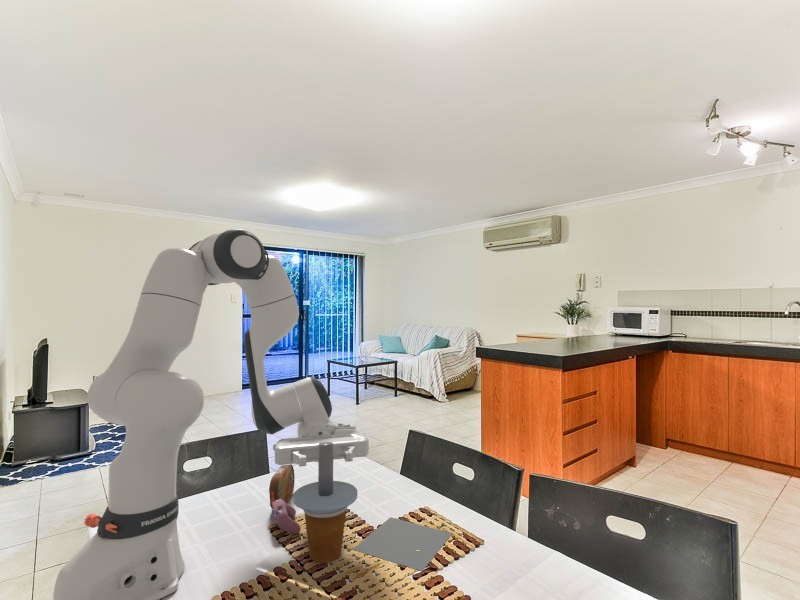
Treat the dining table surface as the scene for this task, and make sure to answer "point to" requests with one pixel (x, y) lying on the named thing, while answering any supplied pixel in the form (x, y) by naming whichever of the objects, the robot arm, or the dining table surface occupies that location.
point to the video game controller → (285, 516)
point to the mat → (404, 543)
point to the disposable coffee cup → (325, 534)
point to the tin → (282, 484)
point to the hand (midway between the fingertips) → (326, 460)
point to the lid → (325, 487)
